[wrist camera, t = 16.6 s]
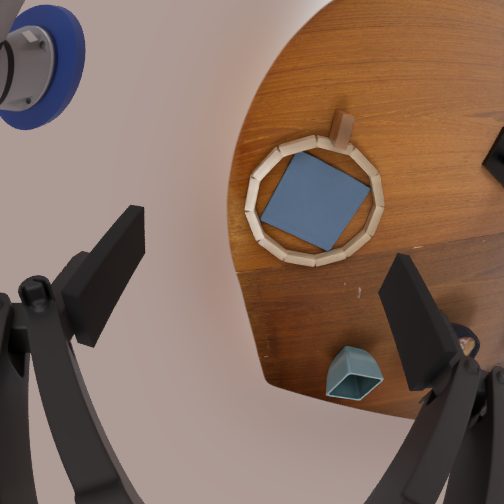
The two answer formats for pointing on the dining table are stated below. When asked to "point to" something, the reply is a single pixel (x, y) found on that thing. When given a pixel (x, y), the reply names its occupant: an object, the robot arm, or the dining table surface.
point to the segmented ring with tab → (335, 142)
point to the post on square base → (496, 159)
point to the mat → (314, 201)
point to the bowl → (465, 341)
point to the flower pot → (352, 374)
